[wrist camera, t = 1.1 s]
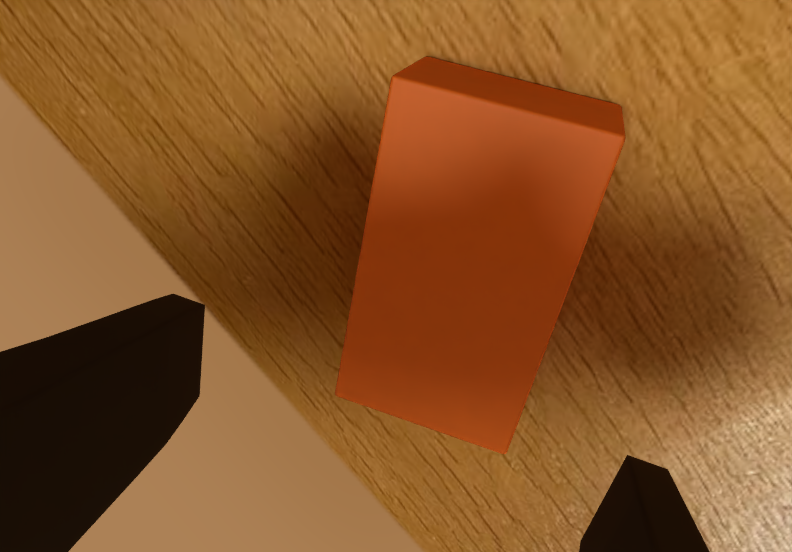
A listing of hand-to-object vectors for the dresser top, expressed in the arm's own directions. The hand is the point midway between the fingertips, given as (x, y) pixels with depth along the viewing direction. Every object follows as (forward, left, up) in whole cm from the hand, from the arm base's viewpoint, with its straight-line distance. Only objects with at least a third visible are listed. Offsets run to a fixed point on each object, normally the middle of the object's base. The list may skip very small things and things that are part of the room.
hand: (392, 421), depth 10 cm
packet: (0, 0, -8) cm, 8 cm away
